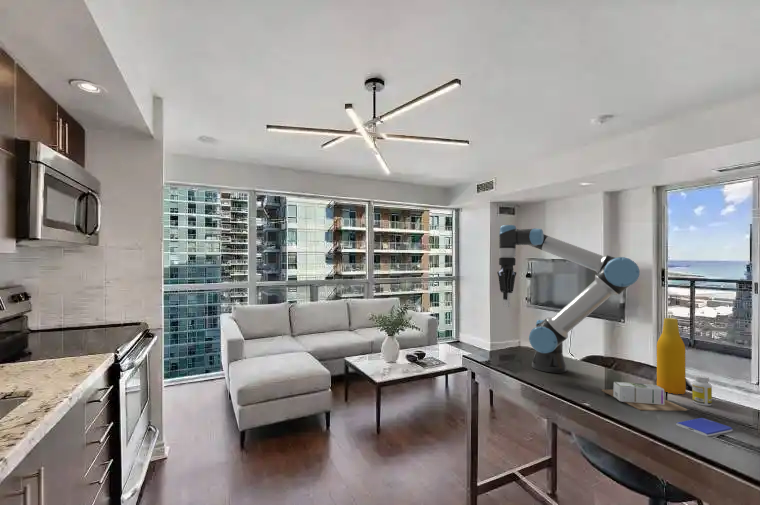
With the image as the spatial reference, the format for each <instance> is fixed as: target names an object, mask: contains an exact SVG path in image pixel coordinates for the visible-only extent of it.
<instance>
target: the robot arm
mask: <svg viewBox="0 0 760 505" xmlns="http://www.w3.org/2000/svg"><path fill="white" fill-rule="evenodd" d="M498 238H499V241H498V242H499V244H498V245H499V248H498V249H499V251H498V253H499V254H498V255H499V258H498V260H499V261H498V266H500V270H499V271H497V276H498V284H499V291H500V293H502V302H503V303H502V304H503V305H502V307H507V308H510V307H511V294H512V293H513V292H514V287H515V280H516V276H517V271H515V270H514V266H516V258H515V257H516V256H517V254H516V253H517V251H516V250H517V249H516V247H517V246H521V245H522V246H530V247H532V248H535V249H538V250H541V251H543V252H546V253H549V254H550V255H552V256H556V257H558V258H561V259H563V260H566V261H569V262H570V263H571V262H572V263H574V264H577V265H579V266H581V267H584V268H587V269H589V270H591V271H595V272H596V274H595V275H594V280H593V281H592V282H591V283H590V284H589V285H588V286H586V287H585V289H583V290H582V291H580V292H579V293H578V294H577V296H575V297H574V298H573V299H572V300H571V301H570V302H568V304H566V305H565V306H564V307H562V308H561V309H560V311H558V312H557V313H556V314H554V315H553V316H552V317H545V319H537V320H536V323H535V327H533V328H532V329H531V330H530V333H529V335H528V340H529V344H530V345H531V347H532V349H534V350H535V353H534V356H533V358H532V362H531V367H532V368H533V369H534V370H537V371H540V372H546V373H555V374H556V373H557V374H561V373H566V372H567V364H566V361H565V357H564V354H563V353H564V352H563V350H564V349H563V346H564V341H566V340H567V339H568V338H569V333H570V332H571V331H572V330H573V329H574V328H575V327H576V326H577V325H578V324H580V323H581V322H582V321H583V320H584V319H585V318H587V317H588V316H589V315H590V314H592V312H594V311H595V310H597V309H598V307H600V306H601V305H602V304H603V303H605V302H606V301H607V300H608V299H609V298H610V297H612V296H613V295H614V296H619V295H621V293H623V292H624V291H625V290H626V289H627V288H629V287H630V286H632V285H633V284H635V283H636V282H637V281H638V279H639V277H640V267H639V266H638V263H636V262H635V260H632V259H631V258H628V257H626V256H622V257H621V256H620V257H614V256H610V255H608V254H607V255H602V254H598V253H595V252H593V251H591V250H588V249H585V248H582V247H580V246H577V245H574V244H571V243H570V242H565V241H562V240H560V239H557V238H556V237H552V236H550V235H547V234H545V233H544V231H543V229H542V228H520V229H517V226H516V225H515V224H504V225H503V224H502V225H501V226H500V227H499V236H498Z"/></svg>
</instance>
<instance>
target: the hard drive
mask: <svg viewBox="0 0 760 505" xmlns="http://www.w3.org/2000/svg"><path fill="white" fill-rule="evenodd" d="M675 425H676V426H678V427H680V428H682V429H686V430H688V431H691V432H693V433H696V434H698V435H702V436H705V437H707V438H708V437H712V436H717V435H721V434H726V433H730V432H733V427H732V426H728V425H725V424H722V423H720V422H716V421H713V420H710V419H708V418H704V417H699V418H694V419H688V420H684V421H680V422H679V421H678V422H676V424H675Z"/></svg>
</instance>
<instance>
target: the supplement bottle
mask: <svg viewBox="0 0 760 505" xmlns="http://www.w3.org/2000/svg"><path fill="white" fill-rule="evenodd" d="M709 382H710V378H709V377H708V376H706V375H702V374H701V375H700V374H695V375H694V380H693V381H692V382H691V384H692V385H691V386H692V387H691V390H692V391H691V394H692V403H695V404H696V405H700V406H706V407H709V406H710V407H711V406H712V405H713V396H712V395H713V392H712V384H710V383H709Z"/></svg>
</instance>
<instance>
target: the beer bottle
mask: <svg viewBox="0 0 760 505" xmlns="http://www.w3.org/2000/svg"><path fill="white" fill-rule="evenodd" d="M686 375H687V374H686V345H685V343H684V341H683V338H682V337H681V335H680V329H679V322H678V319H677V318H670V317H664V318H663V325H662V332H661V334H660V335H659V338H658V340H657V342H656V385H657V386H659V387H661V388H663V389H664V391H665V393H666V392H668V393H667V394H671V393H673V394H672V395H678V394H682V395H685V394H686V390H687V385H686V384H687V383H686Z"/></svg>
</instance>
